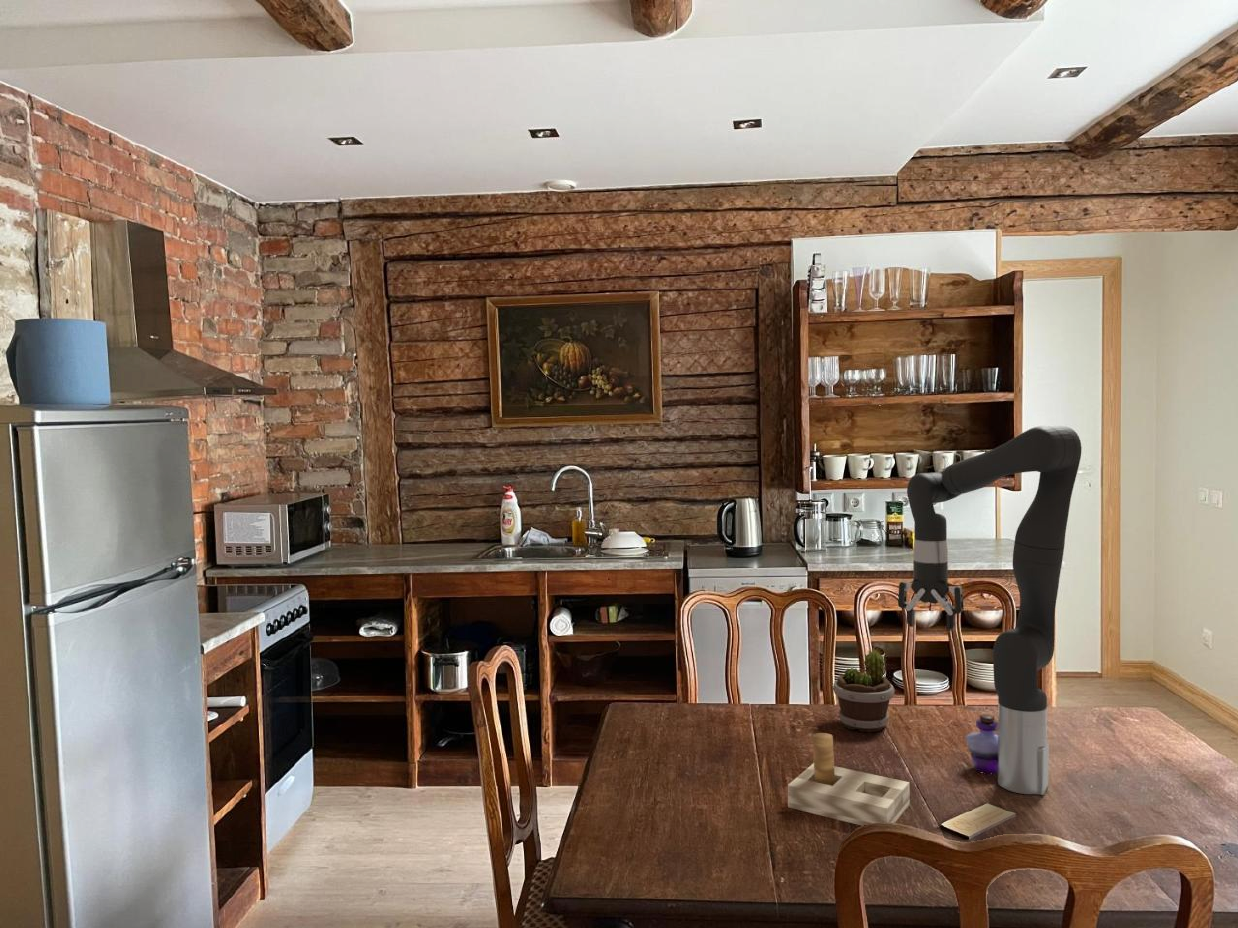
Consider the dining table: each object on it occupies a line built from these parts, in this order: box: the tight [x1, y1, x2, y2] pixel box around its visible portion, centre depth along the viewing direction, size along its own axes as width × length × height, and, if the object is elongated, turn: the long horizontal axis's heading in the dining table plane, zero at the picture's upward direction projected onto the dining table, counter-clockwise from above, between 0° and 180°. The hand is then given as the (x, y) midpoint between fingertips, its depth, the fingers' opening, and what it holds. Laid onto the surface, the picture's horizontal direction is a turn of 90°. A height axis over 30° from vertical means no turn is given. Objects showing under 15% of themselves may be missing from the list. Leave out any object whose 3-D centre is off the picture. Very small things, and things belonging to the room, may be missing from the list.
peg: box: [812, 732, 835, 786], centre depth 182 cm, size 4×4×12 cm
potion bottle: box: [965, 713, 998, 776], centre depth 196 cm, size 9×9×12 cm
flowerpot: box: [831, 644, 896, 733], centre depth 224 cm, size 14×15×20 cm
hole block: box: [787, 762, 911, 827], centre depth 180 cm, size 20×14×4 cm
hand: (930, 628), depth 208 cm, fingers open, 8 cm apart
